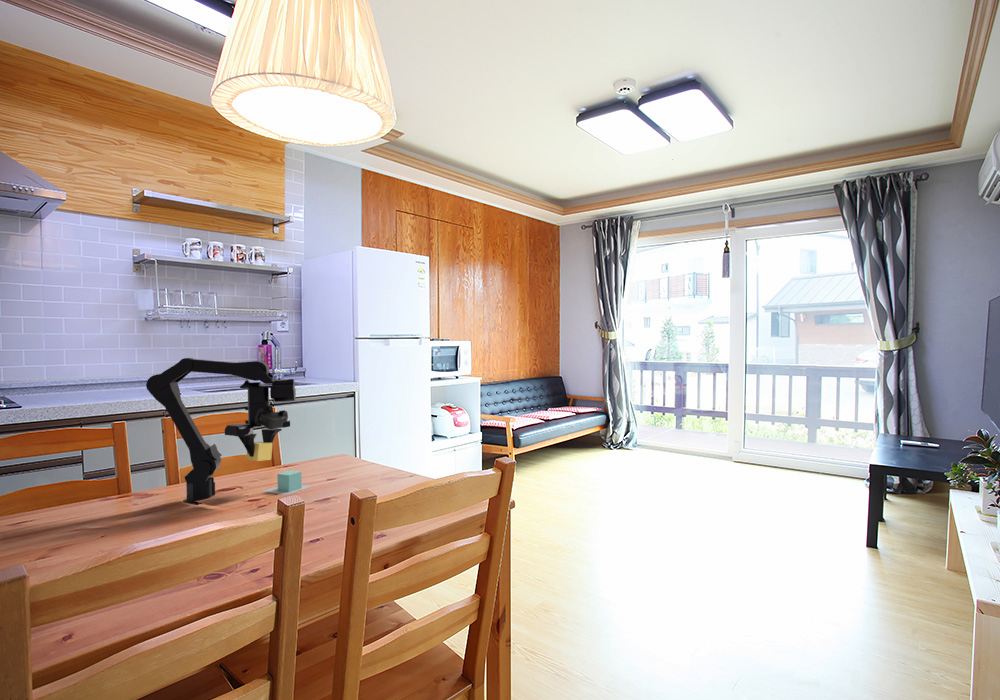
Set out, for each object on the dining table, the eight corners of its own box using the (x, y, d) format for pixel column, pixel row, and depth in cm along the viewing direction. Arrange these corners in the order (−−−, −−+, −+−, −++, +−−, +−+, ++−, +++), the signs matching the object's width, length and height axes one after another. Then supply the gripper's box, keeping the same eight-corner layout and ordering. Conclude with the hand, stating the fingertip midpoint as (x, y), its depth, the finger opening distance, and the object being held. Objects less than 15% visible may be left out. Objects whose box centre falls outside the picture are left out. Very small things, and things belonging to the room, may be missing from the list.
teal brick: (289, 491, 152) (288, 475, 152) (277, 490, 154) (277, 473, 154) (301, 487, 157) (301, 471, 157) (290, 486, 159) (290, 470, 159)
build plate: (285, 497, 149) (285, 494, 149) (262, 493, 154) (262, 491, 154) (311, 488, 158) (311, 486, 158) (288, 485, 163) (288, 482, 163)
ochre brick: (257, 461, 149) (258, 443, 149) (246, 459, 151) (247, 442, 151) (271, 459, 153) (272, 442, 153) (260, 458, 155) (261, 441, 155)
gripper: (249, 407, 140) (250, 463, 140) (302, 400, 157) (303, 450, 157) (222, 406, 145) (223, 460, 145) (277, 399, 162) (278, 448, 162)
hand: (259, 454), depth 152 cm, fingers closed on ochre brick, 5 cm apart
